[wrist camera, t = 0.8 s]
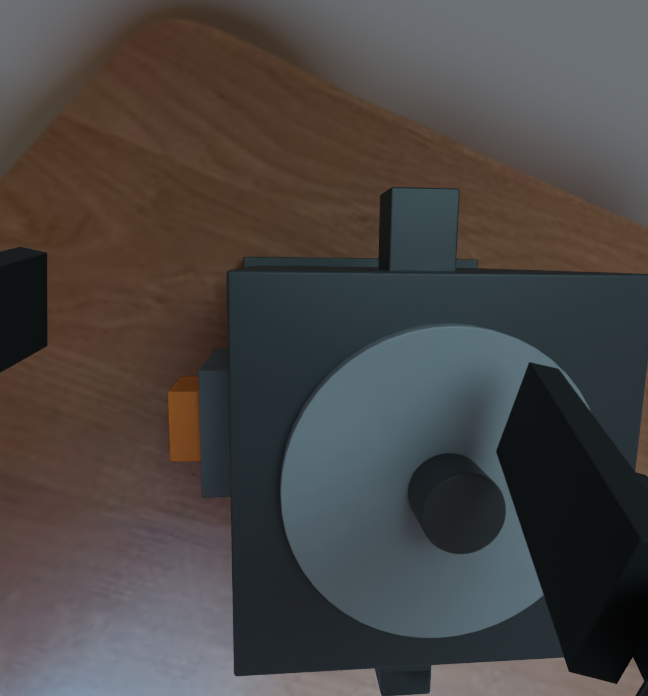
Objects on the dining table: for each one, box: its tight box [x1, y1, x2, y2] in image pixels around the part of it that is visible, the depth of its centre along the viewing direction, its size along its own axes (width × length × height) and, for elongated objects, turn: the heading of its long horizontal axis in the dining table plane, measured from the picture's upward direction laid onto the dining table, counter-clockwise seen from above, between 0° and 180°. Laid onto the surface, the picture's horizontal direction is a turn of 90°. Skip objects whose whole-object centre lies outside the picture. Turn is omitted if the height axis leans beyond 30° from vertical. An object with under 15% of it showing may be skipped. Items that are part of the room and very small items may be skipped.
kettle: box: [198, 187, 648, 696], centre depth 24 cm, size 20×15×20 cm
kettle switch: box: [168, 376, 201, 462], centre depth 23 cm, size 3×2×3 cm, turn 179°
